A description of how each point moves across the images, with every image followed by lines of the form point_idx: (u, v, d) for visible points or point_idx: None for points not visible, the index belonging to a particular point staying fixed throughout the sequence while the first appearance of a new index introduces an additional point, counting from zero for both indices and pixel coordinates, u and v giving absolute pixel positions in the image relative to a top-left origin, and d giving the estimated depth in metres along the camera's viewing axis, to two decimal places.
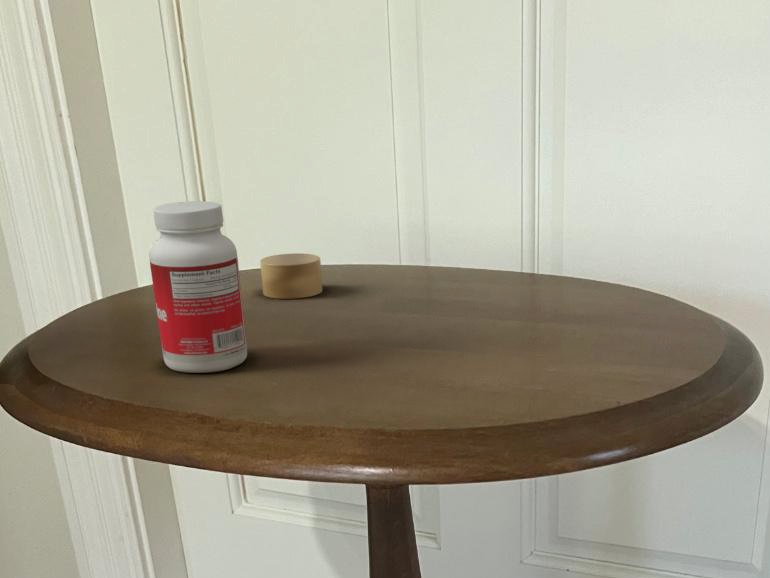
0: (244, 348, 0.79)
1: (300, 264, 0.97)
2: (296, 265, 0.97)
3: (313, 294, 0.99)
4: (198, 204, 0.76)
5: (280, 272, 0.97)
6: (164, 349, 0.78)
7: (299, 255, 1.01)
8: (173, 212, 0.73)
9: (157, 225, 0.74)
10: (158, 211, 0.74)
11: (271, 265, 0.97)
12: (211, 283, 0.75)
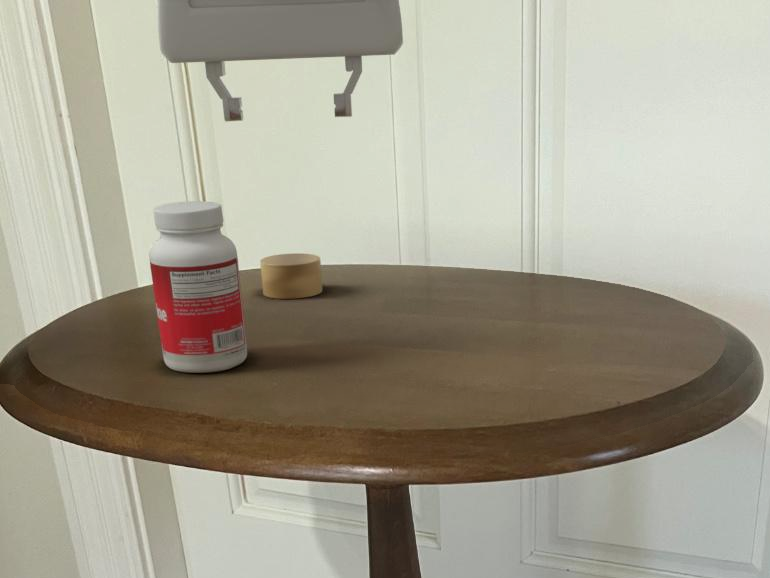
0: (244, 348, 0.79)
1: (300, 264, 0.97)
2: (296, 265, 0.97)
3: (313, 294, 0.99)
4: (198, 204, 0.76)
5: (280, 272, 0.97)
6: (164, 349, 0.78)
7: (299, 255, 1.01)
8: (173, 212, 0.73)
9: (157, 225, 0.74)
10: (158, 211, 0.74)
11: (271, 265, 0.97)
12: (211, 283, 0.75)
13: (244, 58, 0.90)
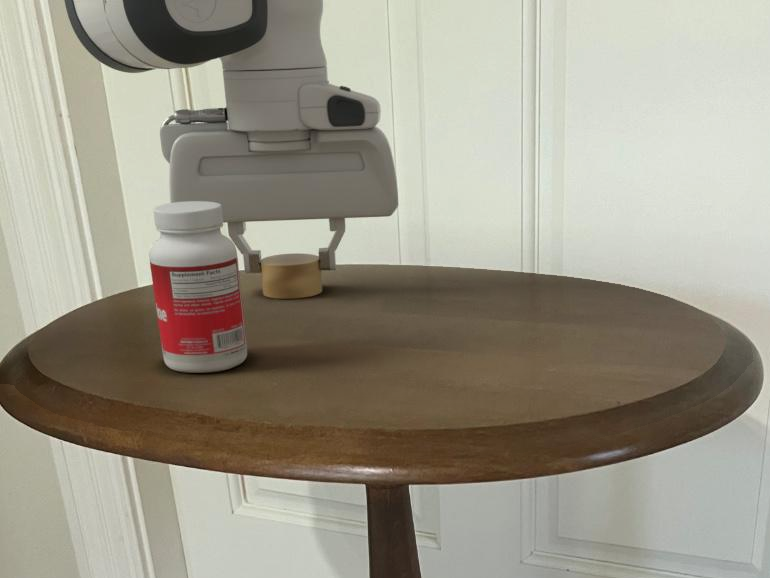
0: (244, 348, 0.79)
1: (300, 264, 0.97)
2: (296, 265, 0.97)
3: (313, 294, 0.99)
4: (198, 204, 0.76)
5: (280, 272, 0.97)
6: (164, 349, 0.78)
7: (299, 255, 1.01)
8: (173, 212, 0.73)
9: (157, 225, 0.74)
10: (158, 211, 0.74)
11: (271, 265, 0.97)
12: (211, 283, 0.75)
13: (250, 220, 0.96)
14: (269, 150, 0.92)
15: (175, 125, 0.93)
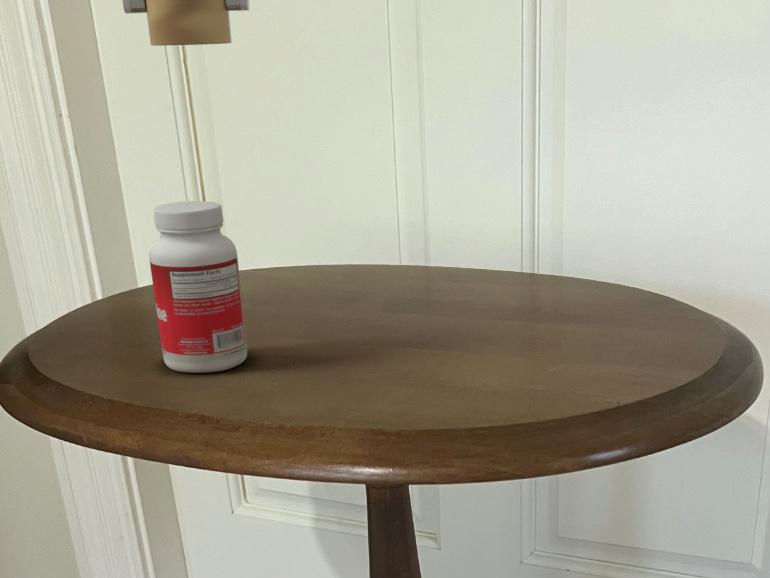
0: (244, 348, 0.79)
1: None
2: None
3: (217, 41, 0.73)
4: (198, 204, 0.76)
5: (170, 4, 0.71)
6: (164, 349, 0.78)
7: None
8: (173, 212, 0.73)
9: (157, 225, 0.74)
10: (158, 211, 0.74)
11: None
12: (211, 283, 0.75)
13: None
14: None
15: None
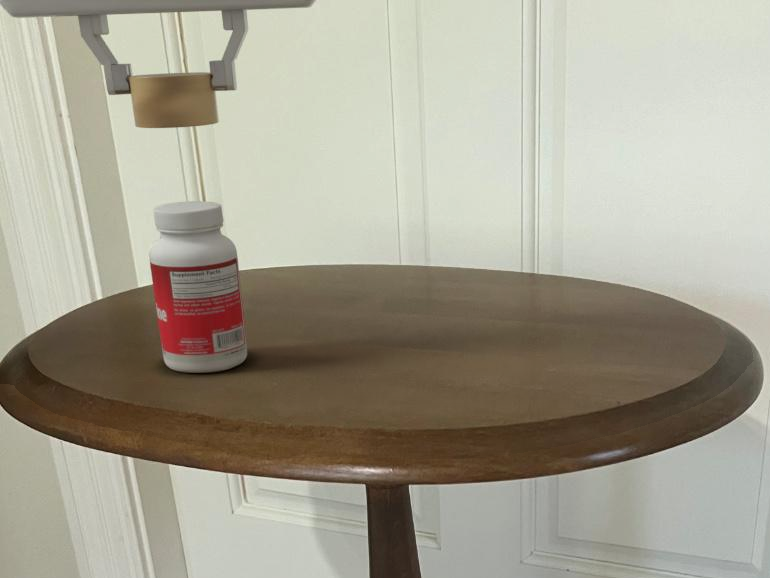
0: (244, 348, 0.79)
1: (181, 76, 0.69)
2: (176, 77, 0.69)
3: (203, 123, 0.71)
4: (198, 204, 0.76)
5: (153, 87, 0.69)
6: (164, 349, 0.78)
7: (186, 73, 0.73)
8: (173, 212, 0.73)
9: (157, 225, 0.74)
10: (158, 211, 0.74)
11: (141, 78, 0.69)
12: (211, 283, 0.75)
13: (109, 11, 0.68)
14: None
15: None
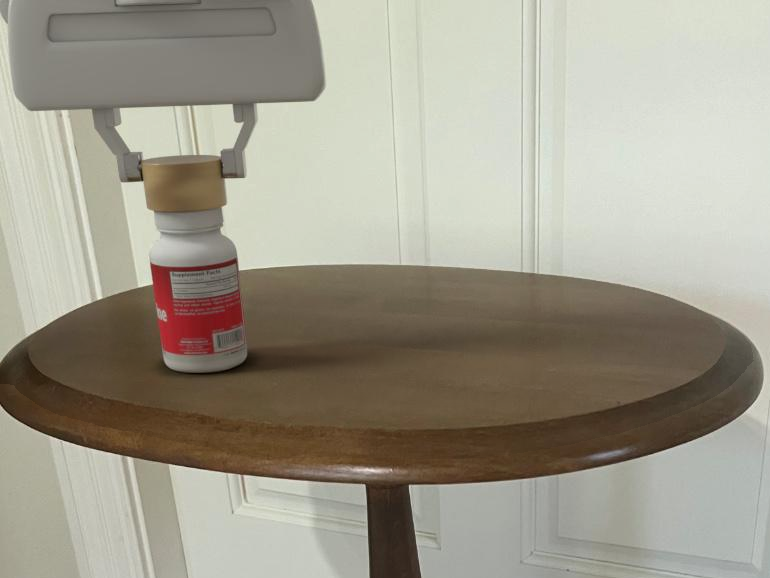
0: (244, 348, 0.79)
1: (192, 163, 0.71)
2: (186, 164, 0.71)
3: (212, 206, 0.73)
4: None
5: (165, 173, 0.72)
6: (164, 349, 0.78)
7: (196, 156, 0.75)
8: (173, 212, 0.73)
9: (157, 225, 0.74)
10: (158, 211, 0.74)
11: (153, 165, 0.72)
12: (211, 283, 0.75)
13: (122, 105, 0.70)
14: (141, 2, 0.66)
15: None
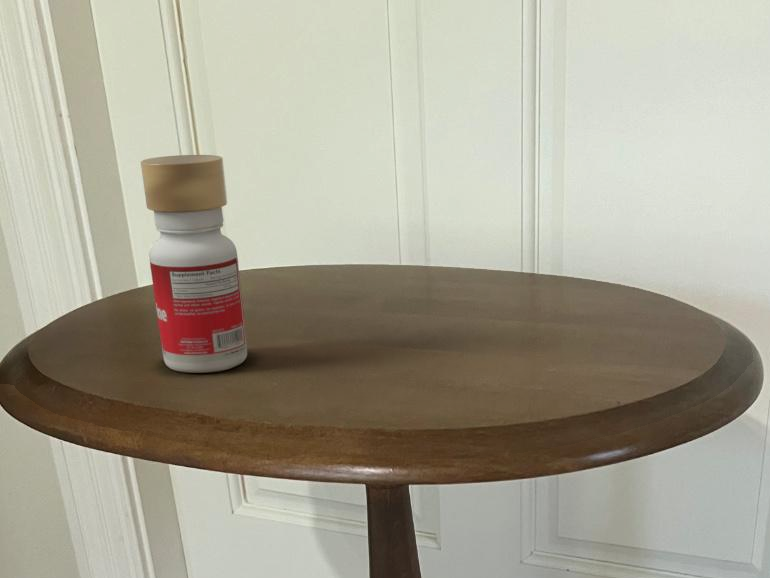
0: (244, 348, 0.79)
1: (192, 163, 0.71)
2: (186, 164, 0.71)
3: (212, 206, 0.73)
4: None
5: (165, 174, 0.71)
6: (164, 349, 0.78)
7: (196, 156, 0.75)
8: (173, 212, 0.73)
9: (157, 225, 0.74)
10: (158, 211, 0.74)
11: (153, 165, 0.72)
12: (211, 283, 0.75)
13: None
14: None
15: None
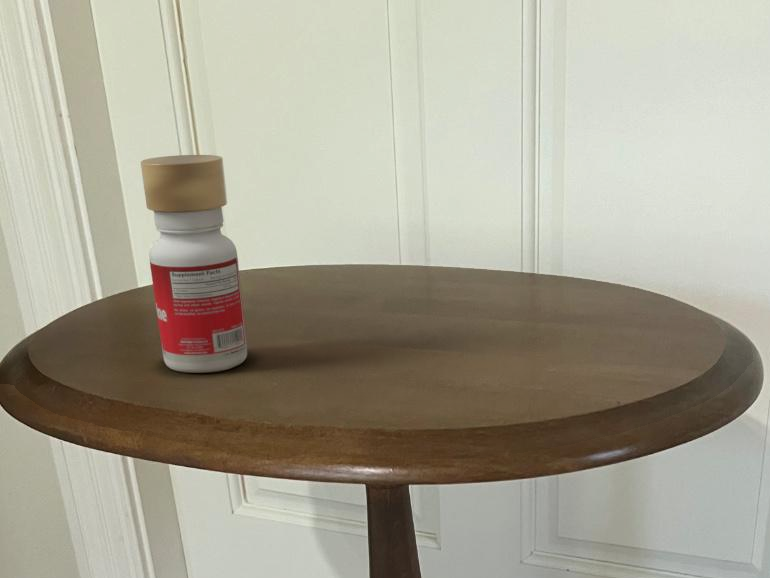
0: (244, 348, 0.79)
1: (192, 163, 0.71)
2: (186, 164, 0.71)
3: (212, 206, 0.73)
4: None
5: (165, 174, 0.71)
6: (164, 349, 0.78)
7: (196, 156, 0.75)
8: (173, 212, 0.73)
9: (157, 225, 0.74)
10: (158, 211, 0.74)
11: (153, 165, 0.72)
12: (211, 283, 0.75)
13: None
14: None
15: None
